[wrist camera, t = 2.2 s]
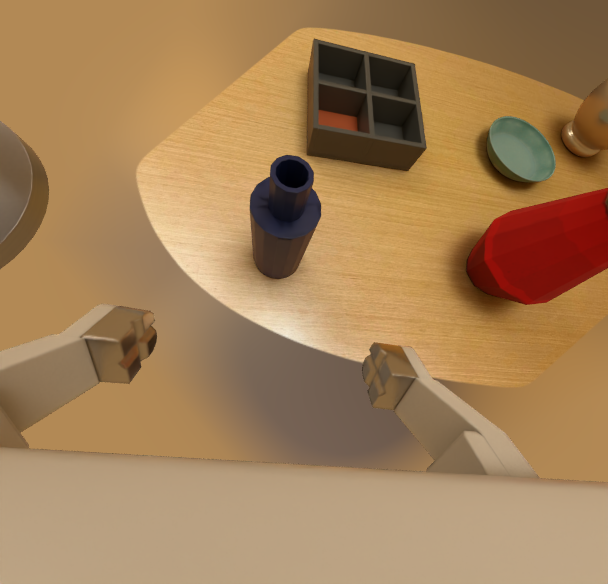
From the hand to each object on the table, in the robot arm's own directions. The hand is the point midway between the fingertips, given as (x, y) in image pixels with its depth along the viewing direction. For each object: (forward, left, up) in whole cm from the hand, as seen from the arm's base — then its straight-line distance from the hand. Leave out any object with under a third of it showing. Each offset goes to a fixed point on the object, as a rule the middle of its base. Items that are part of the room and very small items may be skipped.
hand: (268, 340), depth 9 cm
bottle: (+36, +13, -21) cm, 44 cm away
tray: (+14, +39, -21) cm, 47 cm away
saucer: (+46, +37, -21) cm, 63 cm away
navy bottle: (+1, +12, -21) cm, 25 cm away
